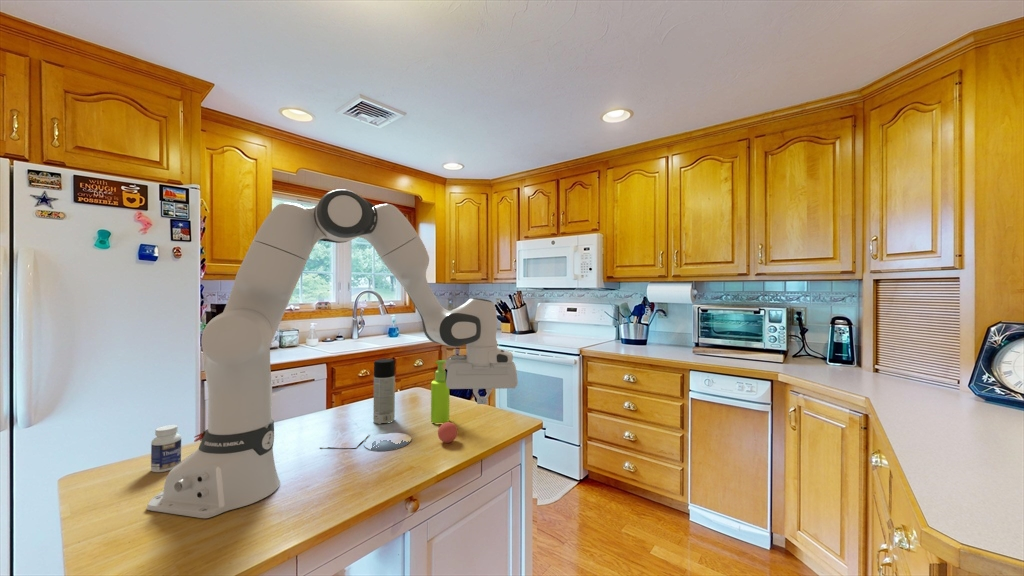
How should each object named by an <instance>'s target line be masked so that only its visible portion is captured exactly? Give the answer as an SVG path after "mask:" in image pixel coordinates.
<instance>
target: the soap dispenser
mask: <svg viewBox="0 0 1024 576" xmlns="http://www.w3.org/2000/svg"><path fill="white" fill-rule="evenodd" d="M435 364H437V369H436V370H435V372H434V379H433V380H432V381H431V382H430V396H431V397H430V422H433V423H446V422H448V421H449V422H450V389H449V388H448V387H447V386H446V378H447V372H446V370H445V369H444V364H446V359H443V360H441V359H439V360H436V361H435Z"/></svg>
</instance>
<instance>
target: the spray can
mask: <svg viewBox="0 0 1024 576" xmlns="http://www.w3.org/2000/svg"><path fill="white" fill-rule="evenodd" d="M395 364H396V361H395V359H392V358H380V359H376V360H374V363H373V413H372V414H373V417H372V419H373V423H374V422H375V423H374V424H376V423H387V424H389V423H388V422H390V423H392V422H394V421H395V417H396V416H395V415H396V413H395V411H396V409H395V407H396V406H395V404H396V403H395V402H396V401H395V400H396V399H395V398H396V391H395V390H396V389H395V388H396V372H395V371H396V366H395ZM393 420H394V421H393ZM391 421H392V422H391Z"/></svg>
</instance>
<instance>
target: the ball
mask: <svg viewBox="0 0 1024 576" xmlns="http://www.w3.org/2000/svg"><path fill="white" fill-rule="evenodd" d="M437 436H438V438H439V440H440V441H441V442H442V443H447V444H449V443H452V442H454V441H455V439H456V438H457V436H458V427H457V426H456V424H455V423H452V422H450V421H449V422H446V423H443V424H441V425H440V426H439V427H438V430H437Z"/></svg>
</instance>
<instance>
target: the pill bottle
mask: <svg viewBox="0 0 1024 576" xmlns="http://www.w3.org/2000/svg"><path fill="white" fill-rule="evenodd" d="M178 429H179V428H178V425H177V424H168V425H167V424H166V425H163V426H159V427H157V428H156V429H155V434H154V435H155V436H156V437H154V438H153V439H152V441H151V444H150V449H151V450H150V452H151V453H150V454H151V455H150V470H151V472H153V473H163V472H170V471H171V470H172V469H173V468H174V467H175V466H176V465H178V464H179V463H180V462H182V435H181V434H180V433H178Z"/></svg>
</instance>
